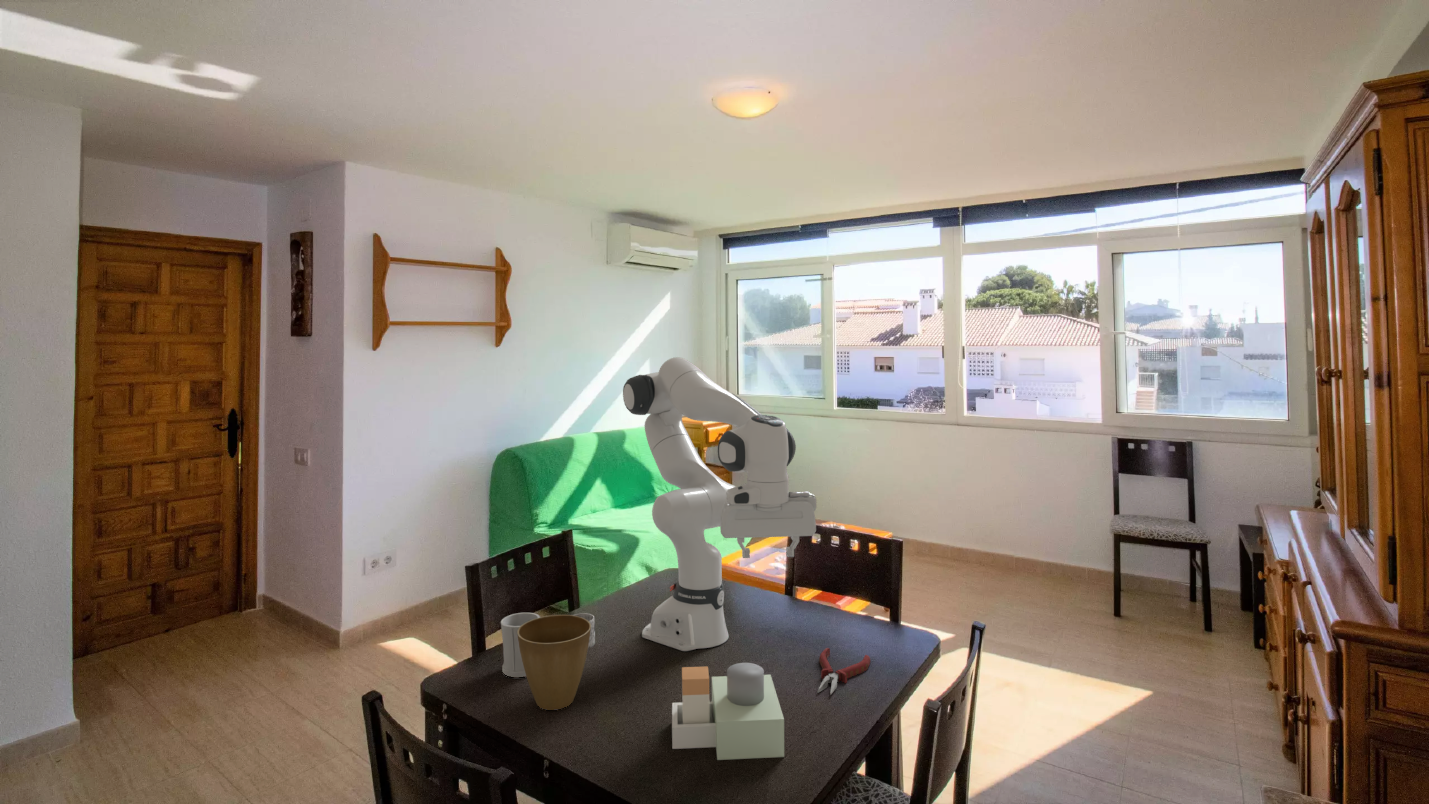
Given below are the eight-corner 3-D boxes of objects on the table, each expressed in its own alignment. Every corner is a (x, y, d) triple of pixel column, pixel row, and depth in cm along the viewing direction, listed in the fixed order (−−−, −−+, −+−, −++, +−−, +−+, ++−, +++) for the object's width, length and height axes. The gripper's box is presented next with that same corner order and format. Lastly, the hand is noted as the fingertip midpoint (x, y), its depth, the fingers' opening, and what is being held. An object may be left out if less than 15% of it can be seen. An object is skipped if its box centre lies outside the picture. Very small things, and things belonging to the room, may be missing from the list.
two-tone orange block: (683, 742, 125) (682, 679, 124) (682, 727, 130) (681, 667, 129) (709, 741, 125) (709, 678, 125) (708, 726, 130) (707, 666, 129)
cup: (555, 667, 156) (554, 616, 155) (529, 684, 148) (527, 631, 147) (520, 659, 161) (518, 610, 160) (492, 675, 152) (491, 623, 152)
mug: (600, 643, 169) (599, 617, 169) (579, 652, 164) (578, 625, 164) (575, 633, 176) (574, 608, 175) (554, 641, 171) (553, 615, 170)
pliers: (798, 693, 144) (798, 681, 144) (824, 655, 162) (824, 645, 162) (850, 704, 139) (851, 692, 139) (871, 664, 157) (872, 653, 157)
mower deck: (672, 761, 119) (671, 696, 118) (672, 711, 136) (671, 654, 135) (784, 756, 120) (784, 691, 119) (770, 707, 137) (770, 650, 136)
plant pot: (525, 728, 130) (522, 648, 129) (515, 693, 144) (512, 620, 143) (600, 711, 136) (598, 634, 135) (583, 679, 150) (582, 609, 149)
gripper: (813, 488, 146) (813, 551, 146) (719, 490, 144) (719, 553, 145) (819, 494, 139) (819, 559, 140) (721, 496, 138) (722, 562, 139)
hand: (768, 556), depth 143 cm, fingers open, 8 cm apart
